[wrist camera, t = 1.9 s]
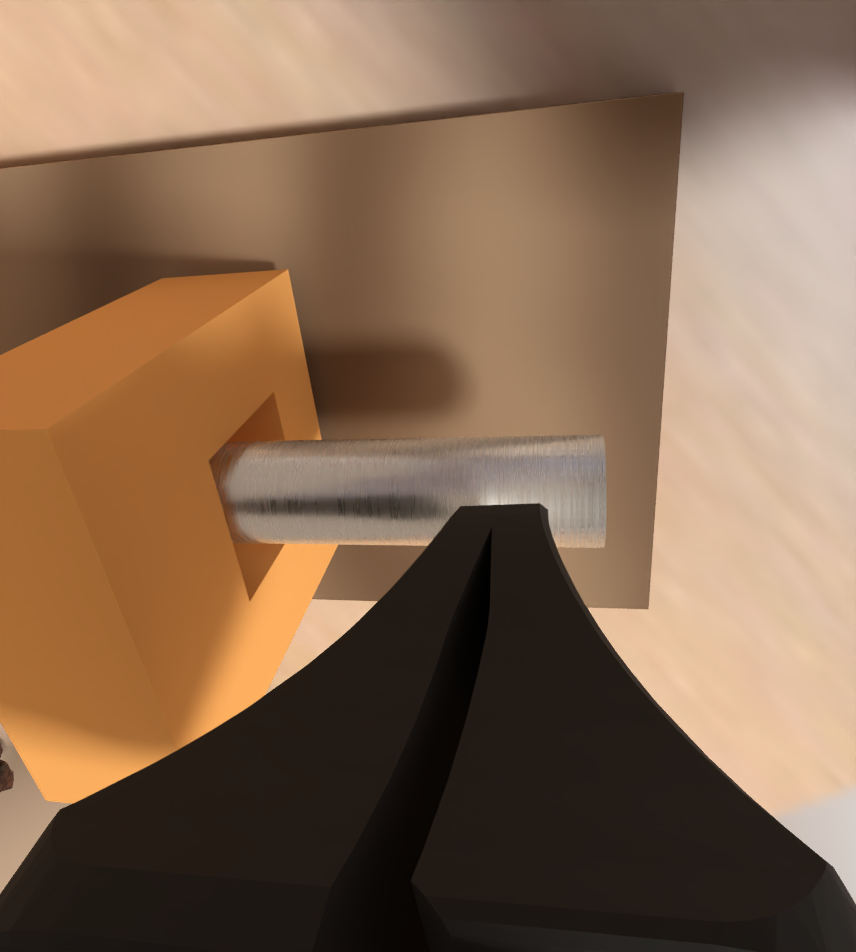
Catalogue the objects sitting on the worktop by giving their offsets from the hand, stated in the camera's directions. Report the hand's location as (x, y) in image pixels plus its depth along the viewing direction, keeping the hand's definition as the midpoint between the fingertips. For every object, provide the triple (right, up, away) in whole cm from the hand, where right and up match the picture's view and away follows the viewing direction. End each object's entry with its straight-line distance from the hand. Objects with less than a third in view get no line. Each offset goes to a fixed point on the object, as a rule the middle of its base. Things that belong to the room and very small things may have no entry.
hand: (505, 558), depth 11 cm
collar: (-5, +3, +6) cm, 9 cm away
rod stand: (-9, +3, +8) cm, 12 cm away
